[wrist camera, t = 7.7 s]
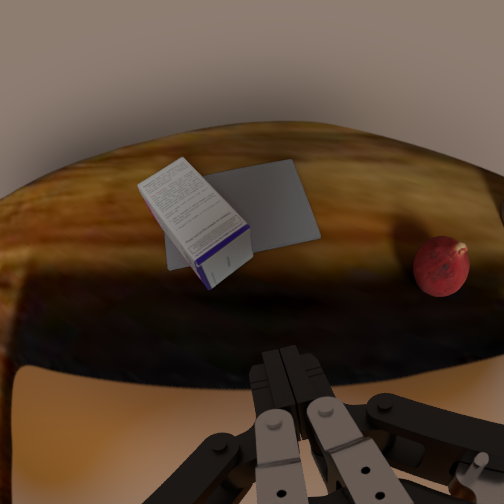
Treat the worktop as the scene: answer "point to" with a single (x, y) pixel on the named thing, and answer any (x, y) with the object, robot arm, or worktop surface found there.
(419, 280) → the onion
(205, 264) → the supplement box
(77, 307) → the worktop surface
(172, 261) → the mat
